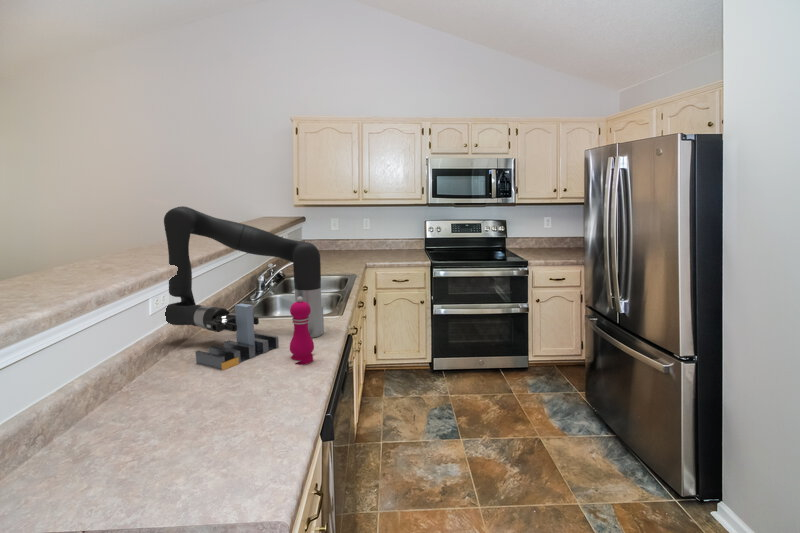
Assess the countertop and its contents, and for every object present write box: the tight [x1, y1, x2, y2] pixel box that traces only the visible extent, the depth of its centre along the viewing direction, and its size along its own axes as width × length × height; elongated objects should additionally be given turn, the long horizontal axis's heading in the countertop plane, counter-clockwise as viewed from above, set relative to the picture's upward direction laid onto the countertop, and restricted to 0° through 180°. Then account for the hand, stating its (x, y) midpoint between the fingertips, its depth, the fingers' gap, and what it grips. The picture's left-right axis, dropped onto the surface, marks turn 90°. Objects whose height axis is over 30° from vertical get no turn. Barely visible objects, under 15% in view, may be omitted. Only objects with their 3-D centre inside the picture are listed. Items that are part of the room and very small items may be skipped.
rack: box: [195, 331, 280, 371], centre depth 138 cm, size 22×11×5 cm, turn 151°
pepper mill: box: [289, 297, 315, 366], centre depth 135 cm, size 7×7×20 cm
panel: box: [234, 303, 255, 345], centre depth 140 cm, size 2×5×15 cm, turn 61°
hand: (247, 324), depth 139 cm, fingers open, 8 cm apart
